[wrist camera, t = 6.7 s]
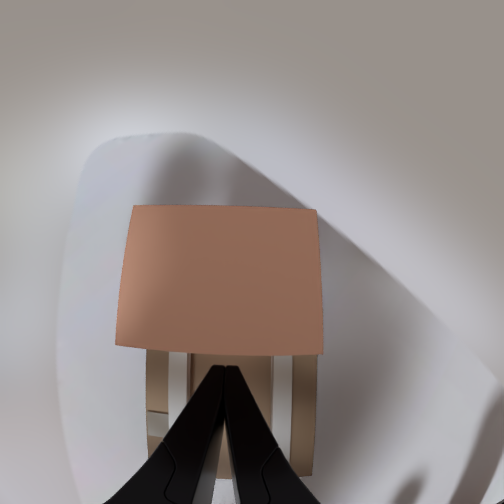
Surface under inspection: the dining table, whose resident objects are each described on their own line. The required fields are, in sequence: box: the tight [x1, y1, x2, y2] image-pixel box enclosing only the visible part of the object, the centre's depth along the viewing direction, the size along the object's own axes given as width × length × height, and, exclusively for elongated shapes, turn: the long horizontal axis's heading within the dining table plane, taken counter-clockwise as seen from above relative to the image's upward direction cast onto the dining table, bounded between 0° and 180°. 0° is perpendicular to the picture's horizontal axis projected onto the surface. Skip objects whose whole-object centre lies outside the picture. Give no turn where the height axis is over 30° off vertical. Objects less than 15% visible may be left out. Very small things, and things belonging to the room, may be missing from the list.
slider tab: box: [115, 205, 323, 356], centre depth 11 cm, size 3×4×11 cm
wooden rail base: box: [146, 349, 317, 479], centre depth 15 cm, size 13×10×3 cm
